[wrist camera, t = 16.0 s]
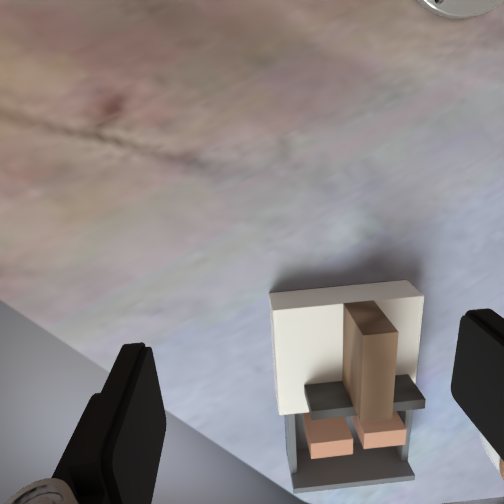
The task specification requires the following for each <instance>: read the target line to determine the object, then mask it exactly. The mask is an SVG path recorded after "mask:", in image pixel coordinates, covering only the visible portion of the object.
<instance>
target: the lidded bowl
mask: <svg viewBox="0 0 504 504" xmlns="http://www.w3.org/2000/svg"><path fill="white" fill-rule="evenodd" d="M478 433H479V437H480V440H481V442H482V445H483V447H484V449H485V451H486V453H487V454H488V456H489V458H490V460H491V461H492V462H493V464H494V465H495V467H496V468H497V470H498V471H499V472H500V474H501V476H502V478H503V479H504V461H503V460H502V459H501V457H500V456H499V455H498V454H497V452H496V451H495V450H494V449H493V447H492V446H491V445H490V444H489V442H488V441H487V440H486V438H485V437H484V436H483V435H482V433H481V432H480V431H479V430H478Z"/></svg>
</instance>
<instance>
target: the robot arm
mask: <svg viewBox="0 0 504 504" xmlns="http://www.w3.org/2000/svg"><path fill="white" fill-rule="evenodd" d="M417 1H418V2H419V3H420V4H421V5H422V6H424V7H425V8H426V9H427V10H429V11H431V12H432V13H434V14H436V15H438V16H442V17H446V18H449V19H465V18H471V17H476V16H478V15H481V14H484V13H486V12H489V11H491V10H493V9H495V8H496V7H498V6H500V5H502V4H503V3H504V0H436V3H435V0H417ZM451 392H452V395H453V398H454V399H455V401H456V402H457V403H458V405H459V406H460V407H461V408H462V410H463V411H464V412H465V413H466V415H467V416H468V417H469V418H470V420H471V421H472V422H473V423H474V425H475V426H476V427H477V428H478V430H479V431H480V432H481V433H482V435H483V436H484V437H485V438H486V440H487V441H488V442H489V444H490V445H491V446H492V447H493V449H494V450H495V451H496V452H497V454H498V455H499V456H500V457H501V459H502V460H503V461H504V318H502V317H501V316H500V315H498V314H497V313H496V312H494V311H493V310H491V309H477V310H469V311H467V312H466V314H465V316H462V318H461V320H460V326H459V333H458V340H457V347H456V354H455V361H454V368H453V375H452V382H451ZM165 431H166V415H165V410H164V405H163V400H162V396H161V391H160V386H159V381H158V376H157V371H156V366H155V361H154V357H153V352H152V348H151V347H145V344H144V343H143V342H142V343H132V344H124V345H123V346H122V348H121V350H120V352H119V354H118V356H117V359H116V361H115V363H114V365H113V367H112V369H111V372H110V374H109V376H108V379H107V380H106V383H105V385H104V387H103V389H102V391H101V393H95V394H94V395H93V396H92V397H91V399H90V400H89V402H88V404H87V406H86V408H85V410H84V412H83V414H82V416H81V418H80V421H79V422H78V425H77V427H76V429H75V431H74V433H73V435H72V437H71V439H70V441H69V443H68V445H67V447H66V449H65V451H64V453H63V455H62V458H61V459H60V461H59V463H58V465H57V467H56V470H55V472H54V474H53V476H52V478H48V479H47V478H46V479H43V480H39V481H36V482H33V483H31V484H30V485H27V486H26V487H24V488H22V489H21V490H19V491H18V492H17V493H15V494H14V495H13V496H11V497H10V498H9V499H8V500H7V501H6V503H4V504H151V502H152V497H153V492H154V487H155V482H156V477H157V472H158V466H159V462H160V457H161V452H162V447H163V442H164V437H165ZM444 504H504V497H499V498H490V499H480V500H471V501H462V502H453V503H444Z"/></svg>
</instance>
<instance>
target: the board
mask: <svg viewBox="0 0 504 504" xmlns="http://www.w3.org/2000/svg"><path fill="white" fill-rule="evenodd" d="M371 300H374V301H375V303H376V304H377V305H378V306H379V308H380V309H381V310H382V312H383V313H384V314H385V315H386V317H387V318H388V319H389V320H390V322H391V323H392V324H393V326H394V327H395V328H396V329H397V331H398V332H399V333H398V346H397V359H396V373H395V375H403V374H408V375H409V376H410V378H411V379H412V380H413V382H414V383H415V382H416V372H417V362H418V352H419V342H420V332H421V323H422V313H423V303H424V295H423V294H422V293H421V292H419V291H418V290H417V289H416V288H415V287H414V286H413V285H412V284H411V283H410V282H409V281H408V280H400V281H389V282H379V283H369V284H358V285H348V286H337V287H327V288H316V289H306V290H295V291H285V292H275V293H269V304H270V319H271V334H272V349H273V364H274V379H275V392H276V398H277V404H278V410H279V415H287V414H296V413H306V412H309V409H308V405H307V401H306V398H305V394H304V385H307V384H316V383H326V382H336V381H342V370H343V303H351V302H361V301H371Z"/></svg>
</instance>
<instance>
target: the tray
mask: <svg viewBox="0 0 504 504" xmlns="http://www.w3.org/2000/svg"><path fill="white" fill-rule="evenodd" d="M412 411H413V410H404V411H397V413H398V415H399V417H400V418H401V420H402V422H403V424H404V425H405V427H406V429H407V431H406V441H405V445H397V446H387V447H378V448H369V449H363V446H362V444H361V441H360V439H359V436H358V434H357V431H356V429H355V426H354V424H353V421H352V419H351V416H348V417H345V419H346V422H347V424H348V427H349V430H350V432H351V435H352V437H353V454H349V455H341V456H332V457H324V458H316V459H311V456H310V452H309V447H308V443H307V439H306V435H305V431H304V427H303V413H296V414H287V415H285V433H286V450H287V457H288V463H289V468H290V474H291V480H292V486H293V492H294V493H303V492H312V491H321V490H330V489H339V488H348V487H357V486H366V485H375V484H384V483H393V482H401V481H410V480H414V479H415V475H414V473H413V471H412V469H411V467H410V465H409V463H408V451H409V441H410V431H411V421H412Z"/></svg>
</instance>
